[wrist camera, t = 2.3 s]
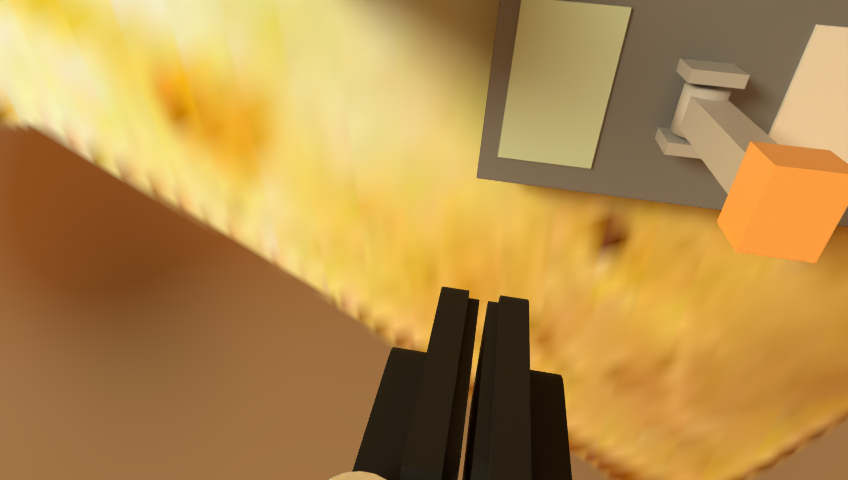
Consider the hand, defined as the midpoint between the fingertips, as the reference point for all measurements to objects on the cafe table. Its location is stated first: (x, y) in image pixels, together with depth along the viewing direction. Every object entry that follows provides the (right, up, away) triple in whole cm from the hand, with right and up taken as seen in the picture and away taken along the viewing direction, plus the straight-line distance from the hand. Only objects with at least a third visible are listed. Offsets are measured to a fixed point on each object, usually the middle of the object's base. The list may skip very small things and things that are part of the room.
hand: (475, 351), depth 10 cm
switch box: (+13, +11, +19) cm, 25 cm away
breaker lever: (+12, +8, +14) cm, 20 cm away
